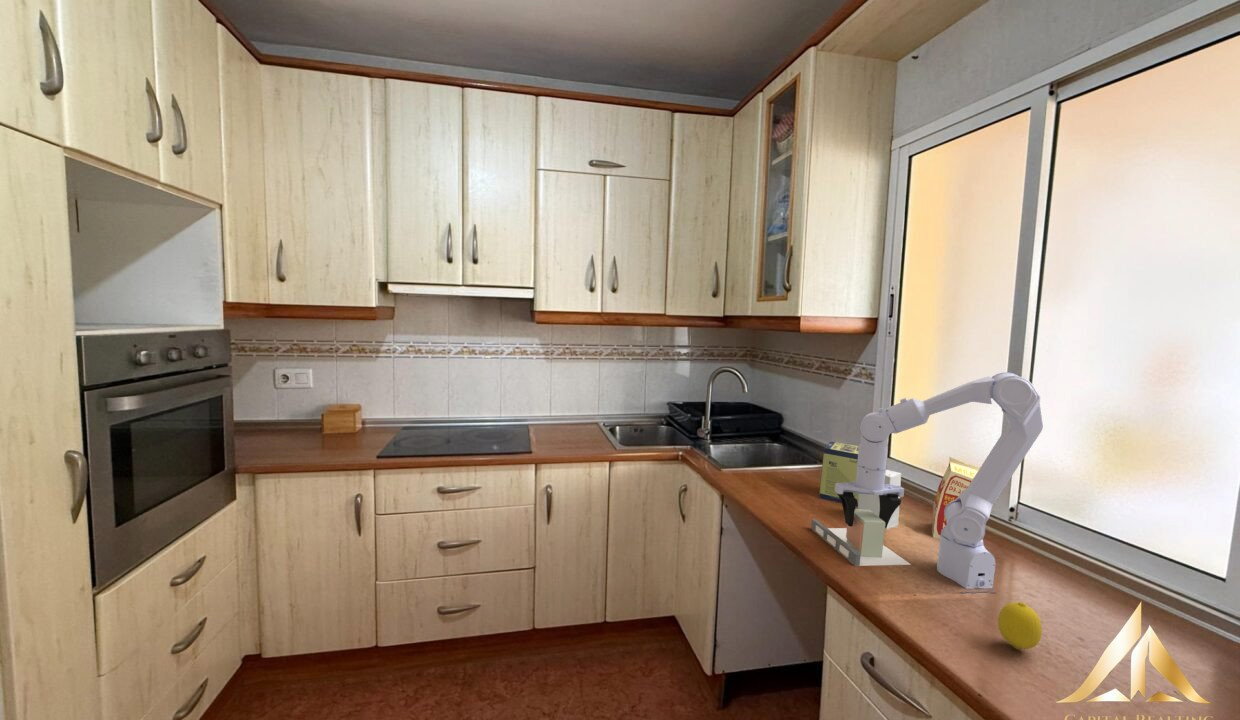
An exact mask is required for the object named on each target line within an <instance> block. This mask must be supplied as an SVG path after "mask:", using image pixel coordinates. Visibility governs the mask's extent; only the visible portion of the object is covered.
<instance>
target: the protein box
mask: <svg viewBox="0 0 1240 720" xmlns="http://www.w3.org/2000/svg"><path fill="white" fill-rule="evenodd" d="M858 451H859V445H854V444H849V443H848V444H847V443H843V442H836V441H829V443H828V444H826V446H825V447H824V448H823V456H822V457H823V458H822V469H821V477H820V485H819V493H818V498H819V499H821V500H826V499H827V501H830V500H831V502H834V501H835V502H836V503H840V504H842V503H841V501H840V498H839V496H838V494H837V492H836V491H835V483H846V482H856V473H857V462H858ZM853 495H854V498H855V499H857V500H858V497H859V494H853ZM855 508H858V502H857V504H856V507H855Z"/></svg>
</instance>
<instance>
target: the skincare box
mask: <svg viewBox="0 0 1240 720" xmlns="http://www.w3.org/2000/svg"><path fill="white" fill-rule="evenodd" d="M901 483H902V473H901V472H898V471H894V470H890V469H886V473H885V482H884V484H887V485H894V486H900V487H902V486H901ZM898 498H900V499H901V497H898ZM857 509H863V510H870V511H872V512H873V513H874V514H875V515H877V516H878V517H879V512H880V500H879V495H870V494H859V497H858V507H857ZM899 516H900V505H899V506H898V507H897V509H896V510H895V511H894V513H893V514H892V516H891V518H890V520H889V523H888V525H887V528H885V530H889V529H892V528H895V527H897V526H899V519H900V517H899Z"/></svg>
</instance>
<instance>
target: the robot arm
mask: <svg viewBox="0 0 1240 720" xmlns="http://www.w3.org/2000/svg"><path fill="white" fill-rule="evenodd" d="M992 400H993V401H994V402H995V403H996V404H997V405H998V406H999V407H1000V409H1001V412H1002V413H1003V415H1004V417H1005V420H1006V421H1007V425H1006V427H1005V429H1004V430H1003V431H1002V433H1001V434H1000V436H999V438H998V439H997V441H996V443H995V444H994V446H993V448H991V450H990V451H989V454H988V455H987V456H986V458H985V460H984V461H983V463H982V464H981V466H979V467H980V469H979V470H978V472H977V474H976V475H975V477H974V478H973V480H972V481H971V483H970V485H969V486H968V488H967V489H966V490H964V491H963V492H962V493H961V494H960V495H959V497H958V498H957V499H956V500H954V501H952V502H950V503H949V504H947V506H946V507H945V509H944V516H945V518H946V521H947V526H946V527H945V528H944V529H942V530H941V537H940V539H939V547H938V554H937V555H938V557H937V563H936V564H937V565H936V570H937V571H938V572H939V574H940V575H942V576H943V577H946V578H948V579H950V580H952V581H954V582H956V583H957V584H958V585H959V586H961V587H963V588H964V589H966V590H972V589H976V590H977V589H979V591H960V592H959V593H960V594H981V593H982V594H984V593H985V594H986V593H996V592H997V591H996V590H985V591H983V590H981V591H980V589H993V588H994V579H995V574H996V573H995V572H996V563H997V562H996V559H995V556H994V555H993V554H992V553H991V552H990V551H988V550H987V549H986V547H985V546H984V540H983V539H984V537H985V535H986V524H987V522H988V520H989V519H990V516H991V512H992V508H993V505H994V504H995V502H996V500H997V499H998V498H999V496H1000V494H1001V493H1002V492H1003V490H1004V489H1005V487H1006V485H1007V484H1008V483H1009V481H1010V480H1011V478H1012V476H1014V474H1015V472H1016V471H1017V469H1018V467H1019V466H1020V465H1021V463H1022V461H1023V460H1024V459H1025V457H1026V456H1027V454H1028V452H1029V451H1030V449H1031V448H1032V447H1033V445H1034V443H1035V442H1036V441H1037V439H1038V437H1039V436H1040V435H1041V433H1042V431H1043V429H1044V425H1043V422H1044V421H1043V416H1042V411H1041V396H1040V393H1038V391H1037V390H1036V388H1035V386H1034V384H1032V382H1031V381H1030V380H1028V379H1027V378H1026V377H1022V376H1019V375H1017V374H1016V373H1013V372H1008V371H1007V372H1006V371H1005V372H1004V371H1003V372H999V373H996V374H994V375H993V376H990V375H989V376H986V377H981V378H978V379H974V380H972V381H968V382H966V383H964V384H962V385H958V386H956V387H953V388H950V389H949V390H947V391H944V392H942V393H940V394H937V395H934V396H931V397H930V398H927V399H924V400H919V399H916V398H914V397H913V398H909V399H908V398H907V397H904V398H901V399H900V400H899V403H896V404H893V405H891V406H889V407H886V408H883V407H879V408H878V409H877V411H878V412H875V411H874V412H870V413H867V414H866V415H864V417H863V418H862V420H861V422H860V427H859V429H860V432H861V434H860V437H859V441H860V443H859V445H858V446H859V451H858V462H857V473H856V482H846V483H835V491H836V492H837V494H838V496H839V498H840V501H841V503H840V504H841V505H842V510H843V514H844V520H845V521H844V522H845V524H846V526H847V525H848V526H853V521H854V511H855V509H856V508H857V507H856V504H857V502H858V500H857V499H855V498H854V495H853V494H870V495H879V500H880V512H879V518H880V519H882V520H883V521H884V522H885V528H887V525H888V523H889V520H890V518H891V516H892V514H893V513H894V511H895V510H896V509H897V507H898V506H899V507H900V506H901V503H902V499H901V498H903V497H904V495H905V494H904V493H905V488H904V487H902V486H894V485H887V484H884V482H885V473H886V470H887V463H888V462H887V460H888V451H889V450H888V447H887V445H888V438H889V436H890V434H899V433H902V432H904V431H907V430H910V429H914V428H916V427H919V426H922V425H925V424H927V422H928V419H929V418H930V416H931V415H934V414H937V413H940V412H945V411H947V410H950V409H954V408H956V407H959V406H962V405H966V404H968V403H979V404H986V405H992V404H993V403H992ZM898 497H900V498H898Z"/></svg>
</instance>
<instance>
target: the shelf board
mask: <svg viewBox="0 0 1240 720" xmlns="http://www.w3.org/2000/svg"><path fill="white" fill-rule="evenodd" d="M810 525H811V526H810V529H811V530H812V531H813V532H814V533H815V534H817V536H819V537H820V538H821V539H822V540H824V541H825V542H826V543H827V544H829V546H831V547H832V548H833V549H834V550H836V551H837V552H838V553H839V554H840V555H842V556H843V557H844V558H845V559H847V561H849V562H850V563H851V564H852V565H854V566H855V567H861V566H862V567H863V566H869V567H870V566H910V565H912V564H911V563H909V562H908V561H907V560H906V559H904V558H903V557H901V556H900V555H898V554H897V553H895V551H893V550H891V549H890V548H888V547H887V546H885V545H884V544H883V551H882V558H879V557H861V555H860V554H859V553H858V552H857V551H855V550H854V549H853V548H852V547H851V546H850V545H849V544H848V543H847V538H846V532H847V527H839V528H838V527H832V528H831V527H830V528H829V527H827V526H825V525H824V524H822V523H821V522H820V521H819V520H817V519H816V518H812V519H811V524H810Z"/></svg>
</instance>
